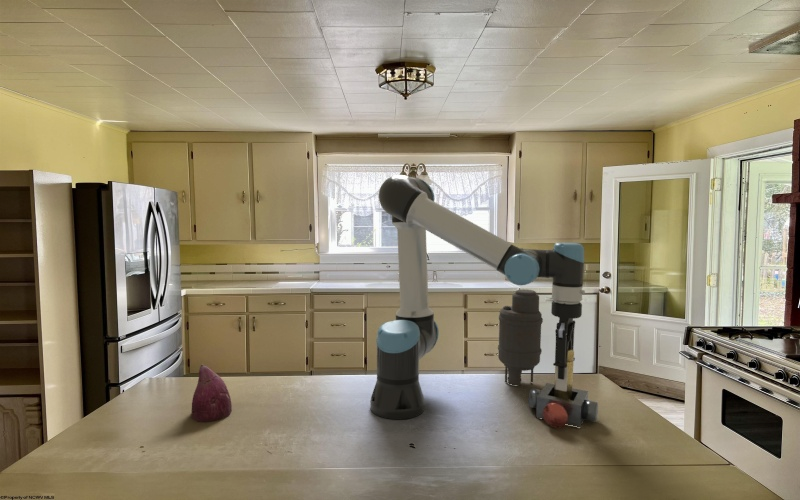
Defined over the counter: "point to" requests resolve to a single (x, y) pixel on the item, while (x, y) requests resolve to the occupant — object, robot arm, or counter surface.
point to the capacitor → (520, 335)
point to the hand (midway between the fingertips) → (563, 386)
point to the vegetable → (210, 397)
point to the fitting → (567, 393)
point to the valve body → (562, 407)
